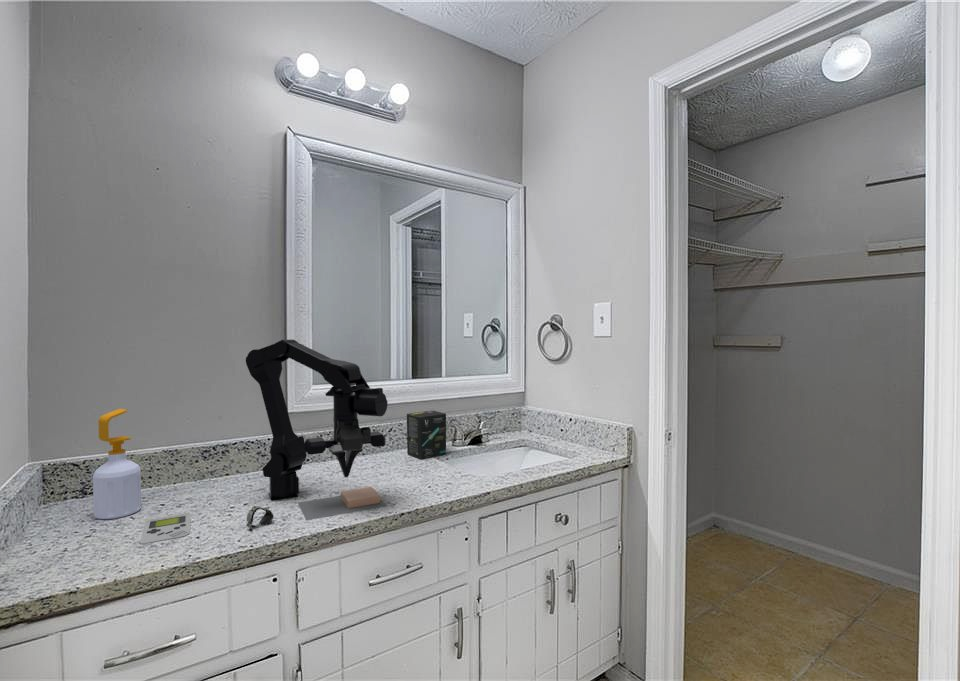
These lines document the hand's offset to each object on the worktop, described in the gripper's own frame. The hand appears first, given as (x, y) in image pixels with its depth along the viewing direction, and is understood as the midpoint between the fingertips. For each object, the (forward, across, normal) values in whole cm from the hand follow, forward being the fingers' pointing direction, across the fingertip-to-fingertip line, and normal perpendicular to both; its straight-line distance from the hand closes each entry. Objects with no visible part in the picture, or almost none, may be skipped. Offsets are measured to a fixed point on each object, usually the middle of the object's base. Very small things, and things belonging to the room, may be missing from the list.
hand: (346, 476), depth 121 cm
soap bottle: (+7, -49, +21) cm, 54 cm away
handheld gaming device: (+8, -38, +5) cm, 39 cm away
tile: (+6, 0, 0) cm, 6 cm away
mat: (+7, -1, 0) cm, 7 cm away
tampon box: (+7, +36, +37) cm, 52 cm away
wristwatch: (+7, -20, -4) cm, 22 cm away
